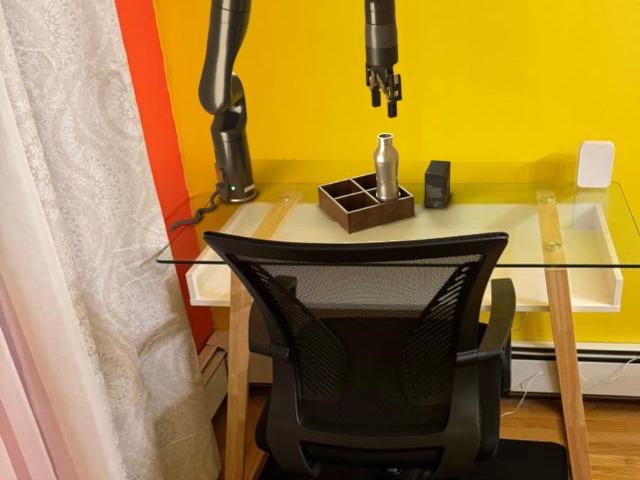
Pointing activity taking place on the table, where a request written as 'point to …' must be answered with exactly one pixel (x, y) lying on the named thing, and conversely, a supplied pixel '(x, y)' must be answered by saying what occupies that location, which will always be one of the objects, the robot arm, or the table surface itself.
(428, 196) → the box
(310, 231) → the table surface
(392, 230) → the table surface
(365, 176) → the compartment tray
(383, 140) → the silver metal bottle
